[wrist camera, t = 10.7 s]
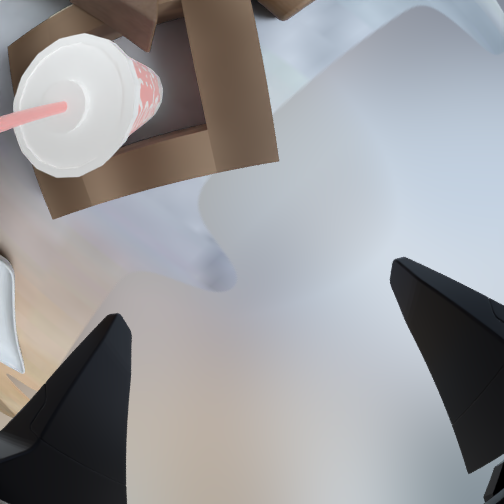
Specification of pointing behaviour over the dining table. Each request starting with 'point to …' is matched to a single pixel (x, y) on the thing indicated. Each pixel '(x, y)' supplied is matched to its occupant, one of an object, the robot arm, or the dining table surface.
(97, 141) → the beverage cup
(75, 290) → the dining table surface
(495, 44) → the dining table surface
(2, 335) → the salad plate
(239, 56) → the holder block
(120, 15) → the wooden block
